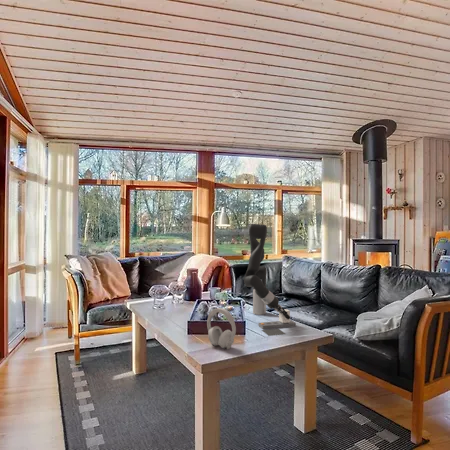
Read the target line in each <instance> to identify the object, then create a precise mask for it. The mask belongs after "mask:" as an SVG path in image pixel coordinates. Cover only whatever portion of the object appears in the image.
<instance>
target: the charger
mask: <svg viewBox="0 0 450 450" xmlns="http://www.w3.org/2000/svg"><path fill="white" fill-rule="evenodd" d="M284 310H285V311H286V312H287V314H288V315H289V316H290V317H291V310H289V309H287V308H286V309H285V308H284ZM290 320H291V318H290V319H289V320H288V319H287V318H286V317H285V316H283V314H280V313H279V312H278V321H280V322H282V323H288V322H290Z"/></svg>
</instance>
